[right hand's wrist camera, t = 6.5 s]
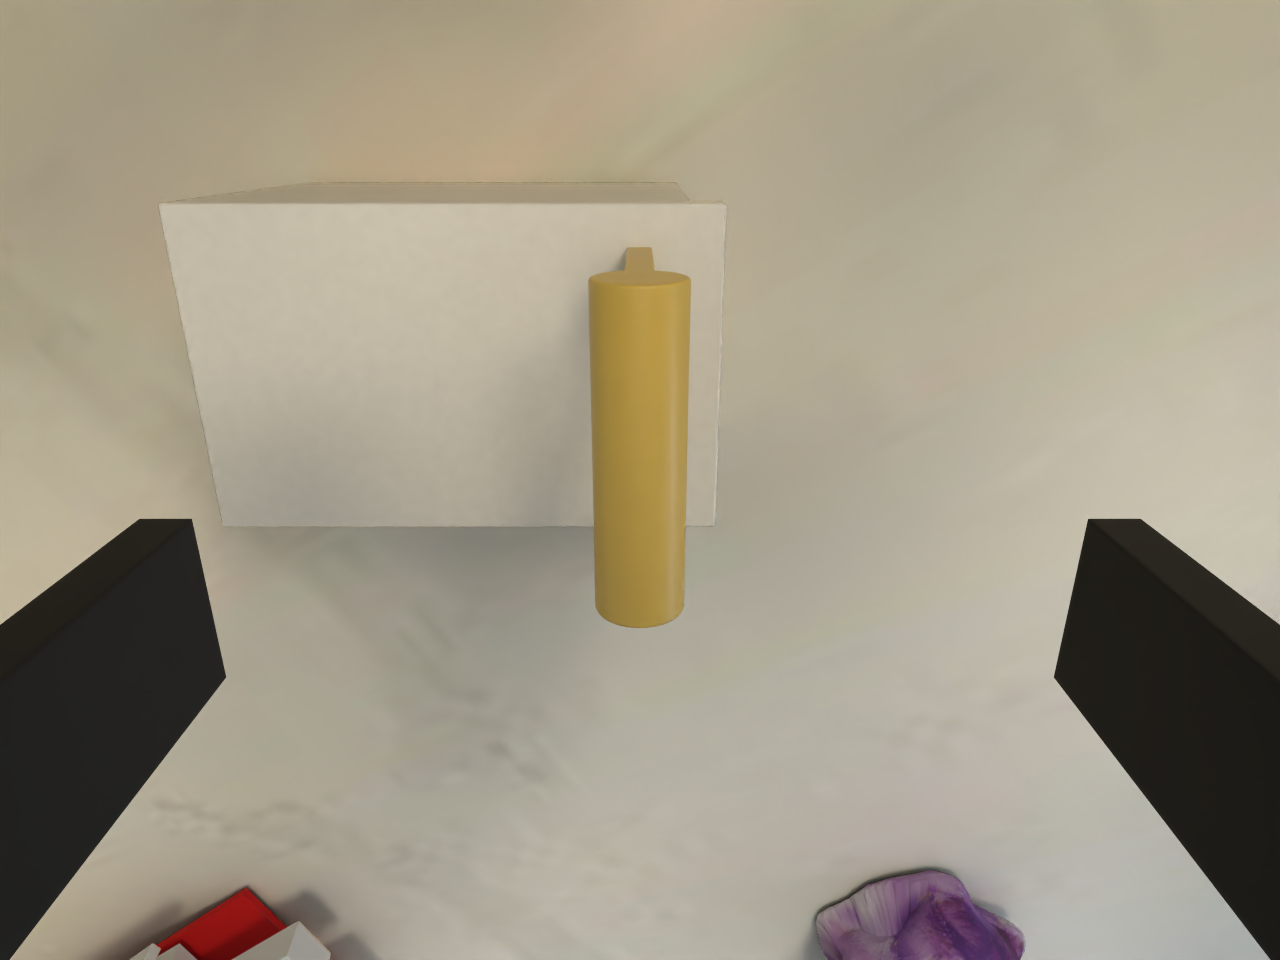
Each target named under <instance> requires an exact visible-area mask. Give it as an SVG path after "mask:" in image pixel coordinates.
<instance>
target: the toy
mask: <svg viewBox="0 0 1280 960" xmlns="http://www.w3.org/2000/svg"><path fill="white" fill-rule="evenodd" d="M330 956H331V953H330V952H329V951H328V950H327V949H326V948H325V947H324V946H323V945H322V944H321V943H320V942H319V941H318V939H317V938H316V937H315V936H314V935H313V934H312V933H311V932H310V931H309V930H308V929H307V928H306V927H305V926H304V925H303V924H302V923H301V922H300V921H297V922H295V923H294V924H292V925H290V926H289V927H287V926H286V925H285V924H284V923H283V922H282V921H281V920H280V919H278V918H277V917H276V916H275V915H274V914H273V913H272V912H271V911H270V910H269V909H268V908H267V907H266V906H265V905H264V904H263V903H262V902H260V901H259V900H258V899H257V898H256V897H255V896H254V895H253V894H252V893H251V892H250V891H249V890H248V889H247V888H245V889H243V890H242V891H240V892H239V893H237V894H235V895H234V896H232V897H231V898H229V899H228V900H226V901H224V902H223V903H221V904H220V905H218V906H217V907H215V908H214V909H212V910H210V911H209V912H207V913H206V914H204V915H203V916H201V917H199V918H198V919H196V920H195V921H193V922H192V923H190V924H188V925H187V926H185V927H184V928H182V929H181V930H179V931H178V932H176V933H174V934H173V935H171V936H170V937H168V938H167V939H165V940H163V941H162V942H160V943H159V944H157V945H155V944H154V943H152V944H151V945H149V946H148V947H146V948H145V949H144V950H142V951H141V952H139V953H138V954H137V955H135V956H134V957H132V958H131V959H130V960H330Z"/></svg>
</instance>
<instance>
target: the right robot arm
mask: <svg viewBox="0 0 1280 960" xmlns="http://www.w3.org/2000/svg"><path fill="white" fill-rule="evenodd" d="M225 678H226V675H225V670H224V665H223V661H222V656H221V651H220V647H219V642H218V638H217V633H216V628H215V624H214V619H213V615H212V610H211V605H210V601H209V596H208V591H207V587H206V582H205V578H204V573H203V568H202V564H201V559H200V555H199V550H198V545H197V541H196V536H195V531H194V527H193V522H192V519H139V520H137V521H136V522H135V523H133V524H132V525H131V526H130V527H128V528H127V529H126V530H124V531H123V532H122V533H120V534H119V535H118V536H116V537H115V538H114V539H112V540H111V541H110V542H109V543H107V544H106V545H105V546H103V547H102V548H101V549H99V550H98V551H97V552H95V553H94V554H93V555H91V556H90V557H89V558H88V559H86V560H85V561H84V562H82V563H81V564H80V565H78V566H77V567H76V568H74V569H73V570H72V571H70V572H69V573H68V574H67V575H65V576H64V577H63V578H61V579H60V580H59V581H57V582H56V583H55V584H53V585H52V586H51V587H49V588H48V589H47V590H46V591H44V592H43V593H42V594H40V595H39V596H38V597H36V598H35V599H34V600H32V601H31V602H30V603H28V604H27V605H26V606H25V607H23V608H22V609H21V610H19V611H18V612H17V613H15V614H14V615H13V616H11V617H10V618H9V619H7V620H6V621H5V622H4V623H2V624H1V625H0V960H10V958H11V957H12V956H13V954H14V953H15V952H16V950H17V949H18V948H19V947H20V945H21V944H22V943H23V941H24V940H25V939H26V937H27V936H28V935H29V934H30V932H31V931H32V930H33V928H34V927H35V926H36V924H37V923H38V922H39V920H40V919H41V918H42V917H43V915H44V914H45V913H46V911H47V910H48V909H49V907H50V906H51V905H52V904H53V902H54V901H55V900H56V898H57V897H58V896H59V894H60V893H61V892H62V890H63V889H64V888H65V887H66V885H67V884H68V883H69V881H70V880H71V879H72V877H73V876H74V875H75V874H76V872H77V871H78V870H79V868H80V867H81V866H82V864H83V863H84V862H85V861H86V859H87V858H88V857H89V855H90V854H91V853H92V851H93V850H94V849H95V847H96V846H97V845H98V844H99V842H100V841H101V840H102V838H103V837H104V836H105V834H106V833H107V832H108V831H109V829H110V828H111V827H112V825H113V824H114V823H115V821H116V820H117V819H118V817H119V816H120V815H121V814H122V812H123V811H124V810H125V808H126V807H127V806H128V804H129V803H130V802H131V801H132V799H133V798H134V797H135V795H136V794H137V793H138V791H139V790H140V789H141V788H142V786H143V785H144V784H145V782H146V781H147V780H148V778H149V777H150V776H151V774H152V773H153V772H154V771H155V769H156V768H157V767H158V765H159V764H160V763H161V761H162V760H163V759H164V758H165V756H166V755H167V754H168V752H169V751H170V750H171V748H172V747H173V746H174V744H175V743H176V742H177V741H178V739H179V738H180V737H181V735H182V734H183V733H184V731H185V730H186V729H187V728H188V726H189V725H190V724H191V722H192V721H193V720H194V718H195V717H196V716H197V715H198V713H199V712H200V711H201V709H202V708H203V707H204V705H205V704H206V703H207V701H208V700H209V699H210V698H211V696H212V695H213V694H214V692H215V691H216V690H217V688H218V687H219V686H220V685H221V683H222V682H223V681H224V679H225ZM1054 678H1055V679H1056V681H1057V682H1058V683H1059V685H1060V686H1061V687H1062V688H1063V690H1064V691H1065V692H1066V694H1067V695H1068V696H1069V698H1070V699H1071V700H1072V701H1073V703H1074V704H1075V705H1076V707H1077V708H1078V709H1079V711H1080V712H1081V713H1082V715H1083V716H1084V717H1085V718H1086V720H1087V721H1088V722H1089V724H1090V725H1091V726H1092V728H1093V729H1094V730H1095V731H1096V733H1097V734H1098V735H1099V737H1100V738H1101V739H1102V741H1103V742H1104V743H1105V744H1106V746H1107V747H1108V748H1109V750H1110V751H1111V752H1112V754H1113V755H1114V756H1115V758H1116V759H1117V760H1118V761H1119V763H1120V764H1121V765H1122V767H1123V768H1124V769H1125V771H1126V772H1127V773H1128V774H1129V776H1130V777H1131V778H1132V780H1133V781H1134V782H1135V784H1136V785H1137V786H1138V788H1139V789H1140V790H1141V791H1142V793H1143V794H1144V795H1145V797H1146V798H1147V799H1148V801H1149V802H1150V803H1151V804H1152V806H1153V807H1154V808H1155V810H1156V811H1157V812H1158V814H1159V815H1160V816H1161V817H1162V819H1163V820H1164V821H1165V823H1166V824H1167V825H1168V827H1169V828H1170V829H1171V831H1172V832H1173V833H1174V834H1175V836H1176V837H1177V838H1178V840H1179V841H1180V842H1181V844H1182V845H1183V846H1184V847H1185V849H1186V850H1187V851H1188V853H1189V854H1190V855H1191V857H1192V858H1193V859H1194V861H1195V862H1196V863H1197V864H1198V866H1199V867H1200V868H1201V870H1202V871H1203V872H1204V874H1205V875H1206V876H1207V877H1208V879H1209V880H1210V881H1211V883H1212V884H1213V885H1214V887H1215V888H1216V889H1217V890H1218V892H1219V893H1220V894H1221V896H1222V897H1223V898H1224V900H1225V901H1226V902H1227V904H1228V905H1229V906H1230V907H1231V909H1232V910H1233V911H1234V913H1235V914H1236V915H1237V917H1238V918H1239V919H1240V920H1241V922H1242V923H1243V924H1244V926H1245V927H1246V928H1247V930H1248V931H1249V932H1250V934H1251V935H1252V936H1253V937H1254V939H1255V940H1256V941H1257V943H1258V944H1259V945H1260V947H1261V948H1262V949H1263V950H1264V952H1265V953H1266V954H1267V956H1268V957H1269V958H1270V960H1280V625H1279V624H1278V623H1276V622H1275V621H1274V620H1273V619H1271V618H1270V617H1269V616H1267V615H1266V614H1265V613H1263V612H1262V611H1261V610H1259V609H1258V608H1257V607H1255V606H1254V605H1253V604H1252V603H1250V602H1249V601H1248V600H1246V599H1245V598H1244V597H1242V596H1241V595H1240V594H1238V593H1237V592H1236V591H1234V590H1233V589H1232V588H1231V587H1229V586H1228V585H1227V584H1225V583H1224V582H1223V581H1221V580H1220V579H1219V578H1217V577H1216V576H1215V575H1213V574H1212V573H1211V572H1210V571H1208V570H1207V569H1206V568H1204V567H1203V566H1202V565H1200V564H1199V563H1198V562H1196V561H1195V560H1194V559H1192V558H1191V557H1190V556H1189V555H1187V554H1186V553H1185V552H1183V551H1182V550H1181V549H1179V548H1178V547H1177V546H1175V545H1174V544H1173V543H1171V542H1170V541H1169V540H1168V539H1166V538H1165V537H1164V536H1162V535H1161V534H1160V533H1158V532H1157V531H1156V530H1154V529H1153V528H1152V527H1150V526H1149V525H1148V524H1146V523H1145V522H1144V521H1143V520H1141V519H1088V522H1087V527H1086V531H1085V536H1084V541H1083V545H1082V550H1081V555H1080V559H1079V564H1078V568H1077V573H1076V578H1075V582H1074V587H1073V591H1072V596H1071V601H1070V605H1069V610H1068V615H1067V619H1066V624H1065V628H1064V633H1063V638H1062V642H1061V647H1060V651H1059V656H1058V661H1057V665H1056V670H1055V675H1054Z"/></svg>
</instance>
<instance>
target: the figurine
mask: <svg viewBox="0 0 1280 960" xmlns="http://www.w3.org/2000/svg"><path fill="white" fill-rule="evenodd" d="M816 928H817V932H818V935H819V937H818V938H819V942H820V945H821V949H822V951H823V952H824V954H825V956H826V957H827V958H828V960H1020V959H1021V957H1022V955H1023V953H1024V951H1025V944H1026V942H1025V938H1024V935H1023V933H1022V932H1021V930H1020V929H1019V928H1018V927H1016V926H1015V925H1014V924H1013V923H1011V922H1009V921H1008V920H1006V919H1004V918H1002V917H1000V916H998V915H996V914H994V913H991V912H988V911H986V910H984V909H982V908H979V907H977V906H976V905H974V904H973V903H972V902H971V899H970V897H969V894H968V893H967V891H966V889H965V887H964V885H963V884H962V883H961V881H960V880H959V879H957V878H955V877H954V876H952V875H951V874H946V873H942V872H939V871H936V870H926V871H923V872H920V873H915V874H909V875H904V876H898V877H893V878H888V879H885V880H881V881H878V882H875V883H873V884H867V885H866V886H865V887H864V888H863V889H861V890H859V891H858V892H856V893H855V894H854V895H852V896H851V897H850V898H849V899H847V900H844V901H843V902H841V903H838V904H835V905H834V906H830V907H829V908H827V909H826V910H824V911H822V912H821V913H819V914H818V915H817V920H816Z"/></svg>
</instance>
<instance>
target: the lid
mask: <svg viewBox="0 0 1280 960" xmlns="http://www.w3.org/2000/svg"><path fill="white" fill-rule="evenodd" d="M158 208H159V213H160V218H161V223H162V228H163V233H164V238H165V242H166V247H167V252H168V257H169V262H170V267H171V272H172V277H173V282H174V287H175V292H176V297H177V302H178V307H179V312H180V317H181V322H182V327H183V331H184V336H185V341H186V346H187V351H188V356H189V361H190V366H191V371H192V376H193V381H194V386H195V391H196V396H197V401H198V406H199V411H200V415H201V420H202V425H203V430H204V435H205V440H206V445H207V450H208V455H209V460H210V465H211V470H212V475H213V480H214V485H215V490H216V495H217V499H218V504H219V509H220V514H221V519H222V524H223V526H224V527H594V561H595V604H596V609H597V611H598V613H599V614H600V615H601V616H602V617H603V618H604V619H606V620H607V621H609V622H611V623H614V624H617V625H620V626H625V627H632V628H648V627H655V626H659V625H663V624H666V623H668V622H670V621H672V620H674V619H675V618H676V617H678V616H679V614H680V613H681V612H682V610H683V607H684V578H685V533H686V527H713V526H715V517H716V489H717V462H718V434H719V407H720V380H721V352H722V325H723V297H724V270H725V242H726V215H727V205H726V203H724V202H723V201H171V202H163V203H159V204H158Z"/></svg>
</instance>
